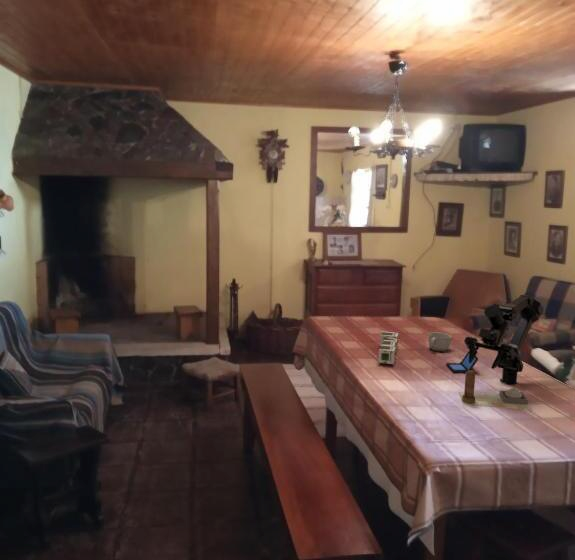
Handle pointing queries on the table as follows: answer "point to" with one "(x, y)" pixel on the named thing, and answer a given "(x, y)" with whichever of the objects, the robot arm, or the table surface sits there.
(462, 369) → the handheld game console
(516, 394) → the dome
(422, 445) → the table surface
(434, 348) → the grey rounded block
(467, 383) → the pawn
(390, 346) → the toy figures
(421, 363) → the table surface
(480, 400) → the board
